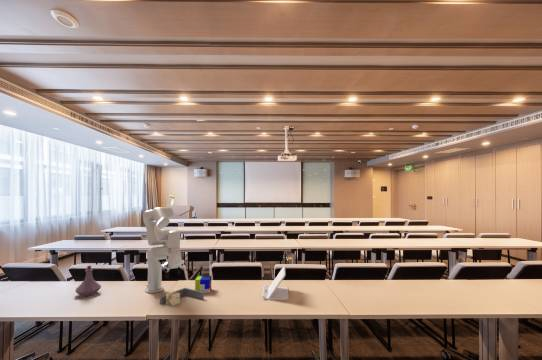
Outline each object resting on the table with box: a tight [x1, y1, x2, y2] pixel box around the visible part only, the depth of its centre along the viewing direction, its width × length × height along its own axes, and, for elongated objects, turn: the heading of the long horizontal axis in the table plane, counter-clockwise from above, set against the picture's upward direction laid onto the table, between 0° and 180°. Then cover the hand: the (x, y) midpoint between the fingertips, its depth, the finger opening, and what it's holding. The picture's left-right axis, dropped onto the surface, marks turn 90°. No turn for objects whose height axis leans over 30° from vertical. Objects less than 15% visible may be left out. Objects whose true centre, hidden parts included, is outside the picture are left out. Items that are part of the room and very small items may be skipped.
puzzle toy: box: [194, 275, 212, 294], centre depth 209 cm, size 10×10×10 cm
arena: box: [159, 287, 205, 307], centre depth 188 cm, size 18×21×5 cm
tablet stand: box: [261, 265, 289, 301], centre depth 204 cm, size 18×25×17 cm
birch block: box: [165, 291, 181, 307], centre depth 184 cm, size 6×6×6 cm
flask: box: [75, 265, 102, 298], centre depth 203 cm, size 16×16×20 cm
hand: (173, 276), depth 185 cm, fingers open, 9 cm apart
